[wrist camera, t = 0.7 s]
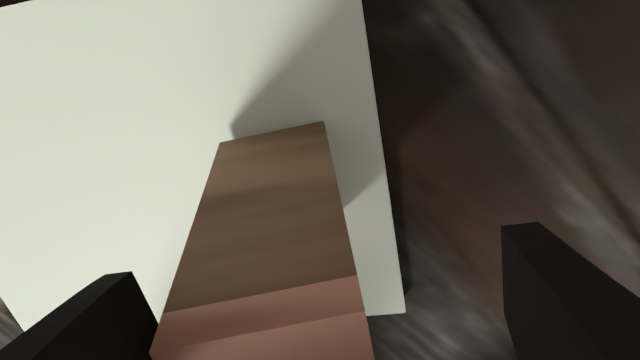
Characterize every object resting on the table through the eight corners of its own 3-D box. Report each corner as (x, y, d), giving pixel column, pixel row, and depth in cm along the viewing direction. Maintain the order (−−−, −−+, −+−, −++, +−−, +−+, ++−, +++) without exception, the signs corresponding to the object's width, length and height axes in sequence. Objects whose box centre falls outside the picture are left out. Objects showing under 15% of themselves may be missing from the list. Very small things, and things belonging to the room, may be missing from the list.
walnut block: (341, 210, 19) (391, 445, 10) (247, 229, 19) (214, 477, 10) (323, 120, 17) (365, 311, 8) (219, 142, 17) (148, 352, 8)
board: (404, 297, 22) (405, 312, 21) (43, 328, 25) (32, 343, 25) (351, -71, 15) (350, -71, 14) (-146, 39, 18) (-171, 45, 17)
